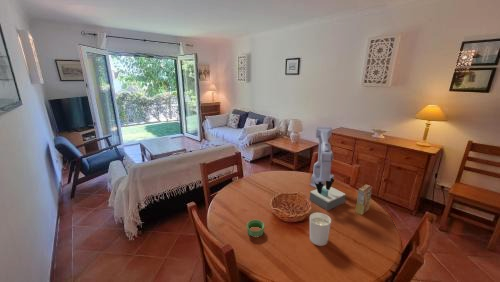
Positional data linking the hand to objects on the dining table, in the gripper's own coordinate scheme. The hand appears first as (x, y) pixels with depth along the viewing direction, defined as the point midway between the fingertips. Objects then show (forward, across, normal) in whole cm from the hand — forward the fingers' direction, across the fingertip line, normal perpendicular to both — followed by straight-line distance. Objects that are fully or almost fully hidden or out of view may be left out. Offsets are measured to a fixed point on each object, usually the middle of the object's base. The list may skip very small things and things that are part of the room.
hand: (323, 191), depth 132 cm
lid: (+3, +4, 0) cm, 5 cm away
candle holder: (+9, -26, -21) cm, 35 cm away
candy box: (+9, +13, -18) cm, 24 cm away
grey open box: (+8, +4, 0) cm, 9 cm away
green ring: (+9, -50, 0) cm, 50 cm away
